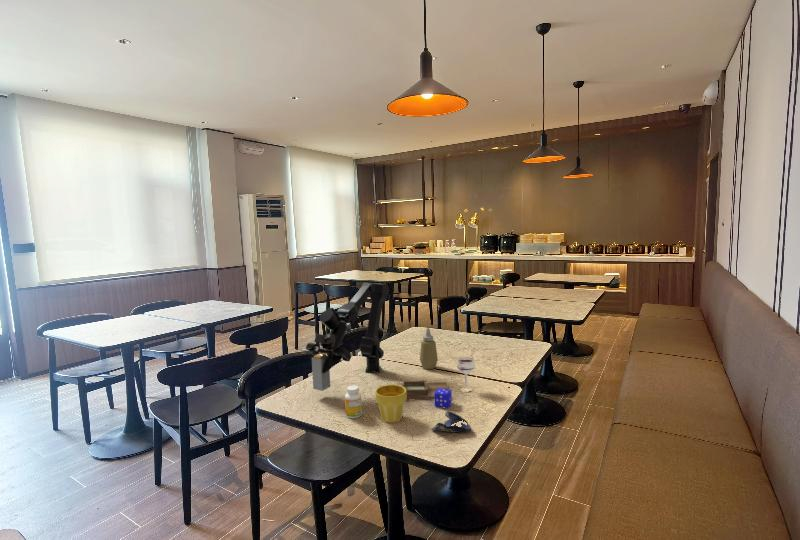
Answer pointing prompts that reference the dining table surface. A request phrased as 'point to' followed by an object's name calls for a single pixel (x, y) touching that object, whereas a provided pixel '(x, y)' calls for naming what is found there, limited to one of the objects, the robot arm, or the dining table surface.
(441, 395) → the die
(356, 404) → the supplement bottle
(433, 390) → the chassis board
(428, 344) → the squeeze bottle
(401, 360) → the dining table surface
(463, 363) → the wineglass
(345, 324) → the robot arm
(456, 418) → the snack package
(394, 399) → the plant pot
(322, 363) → the grey faceted pillar
